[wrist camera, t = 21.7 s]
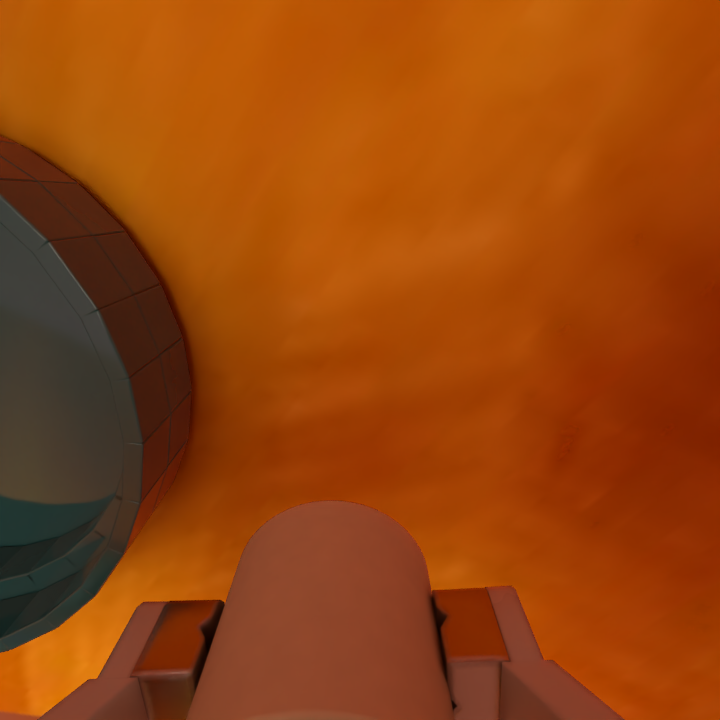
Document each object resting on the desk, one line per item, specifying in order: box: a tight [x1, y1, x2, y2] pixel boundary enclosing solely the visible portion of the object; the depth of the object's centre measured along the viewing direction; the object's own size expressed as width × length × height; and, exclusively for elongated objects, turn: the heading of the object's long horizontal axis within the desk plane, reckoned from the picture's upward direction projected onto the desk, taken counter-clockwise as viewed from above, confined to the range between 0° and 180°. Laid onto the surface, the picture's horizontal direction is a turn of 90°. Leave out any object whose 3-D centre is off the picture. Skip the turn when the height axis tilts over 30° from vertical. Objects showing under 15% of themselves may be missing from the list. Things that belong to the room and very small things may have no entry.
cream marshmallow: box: [186, 501, 455, 720], centre depth 8 cm, size 4×4×4 cm
